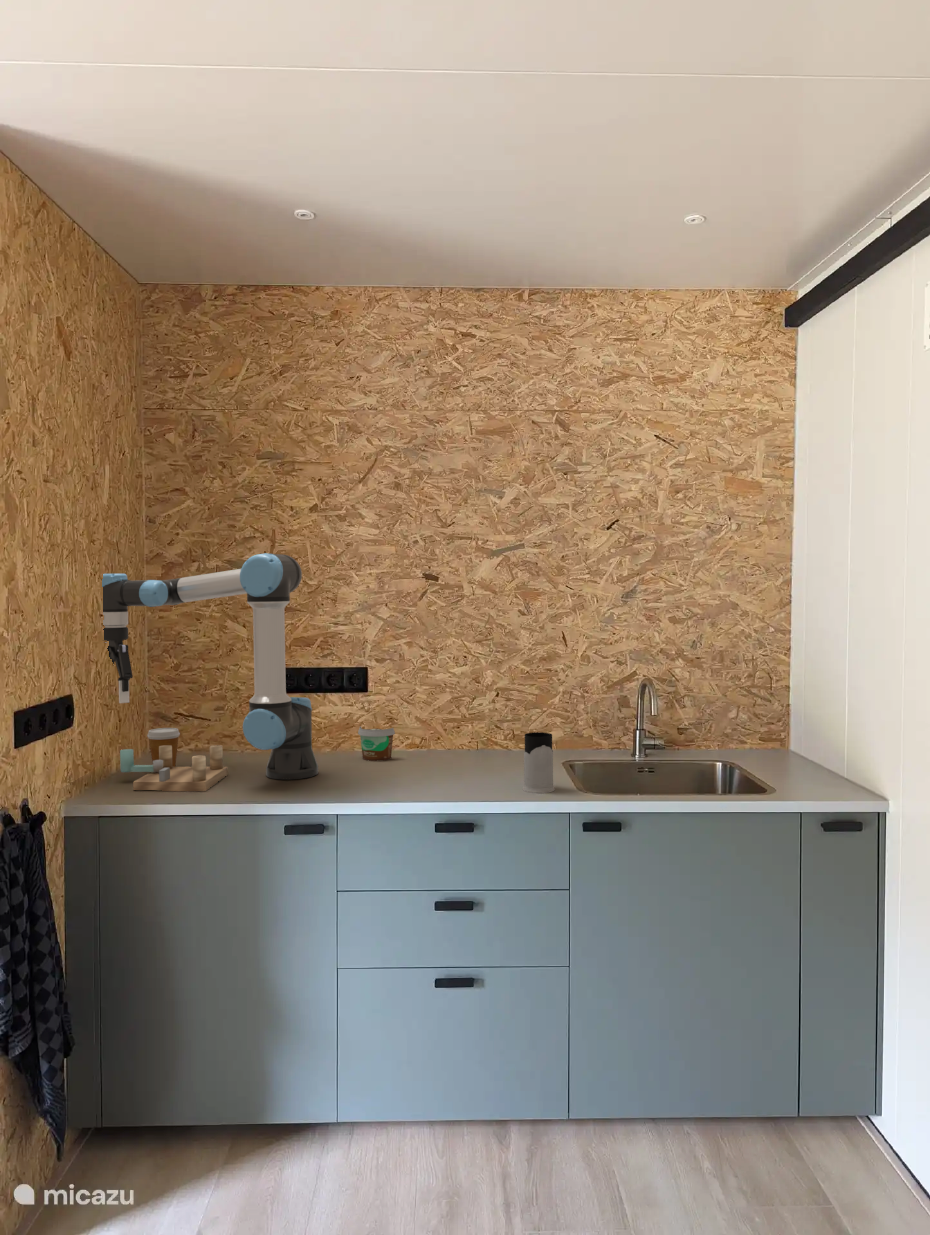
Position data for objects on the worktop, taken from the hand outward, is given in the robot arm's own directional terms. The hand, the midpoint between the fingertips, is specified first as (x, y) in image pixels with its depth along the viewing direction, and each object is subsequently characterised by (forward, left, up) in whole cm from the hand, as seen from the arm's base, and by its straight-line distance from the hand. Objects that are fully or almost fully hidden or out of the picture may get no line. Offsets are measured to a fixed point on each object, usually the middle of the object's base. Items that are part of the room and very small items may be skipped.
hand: (115, 700), depth 266 cm
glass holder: (-122, +11, -23) cm, 124 cm away
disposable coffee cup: (-10, -11, -23) cm, 27 cm away
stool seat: (-22, +7, -23) cm, 32 cm away
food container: (-72, -26, -23) cm, 80 cm away
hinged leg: (-10, +6, -20) cm, 22 cm away
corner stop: (-20, +15, -20) cm, 32 cm away
